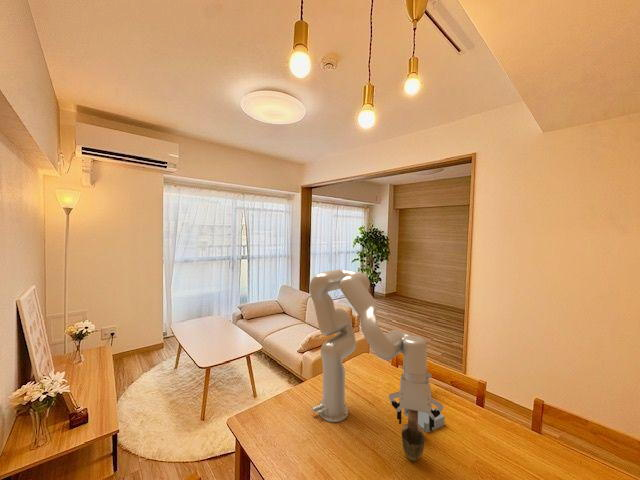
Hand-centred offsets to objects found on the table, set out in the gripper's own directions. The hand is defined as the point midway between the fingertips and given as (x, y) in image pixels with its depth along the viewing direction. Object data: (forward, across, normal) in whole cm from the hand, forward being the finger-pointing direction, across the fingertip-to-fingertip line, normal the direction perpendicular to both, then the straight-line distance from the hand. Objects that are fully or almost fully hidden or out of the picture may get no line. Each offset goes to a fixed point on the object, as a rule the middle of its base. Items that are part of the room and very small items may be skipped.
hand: (415, 424), depth 87 cm
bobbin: (+12, +1, -12) cm, 17 cm away
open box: (+12, -3, -22) cm, 25 cm away
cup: (+12, +1, 0) cm, 12 cm away
